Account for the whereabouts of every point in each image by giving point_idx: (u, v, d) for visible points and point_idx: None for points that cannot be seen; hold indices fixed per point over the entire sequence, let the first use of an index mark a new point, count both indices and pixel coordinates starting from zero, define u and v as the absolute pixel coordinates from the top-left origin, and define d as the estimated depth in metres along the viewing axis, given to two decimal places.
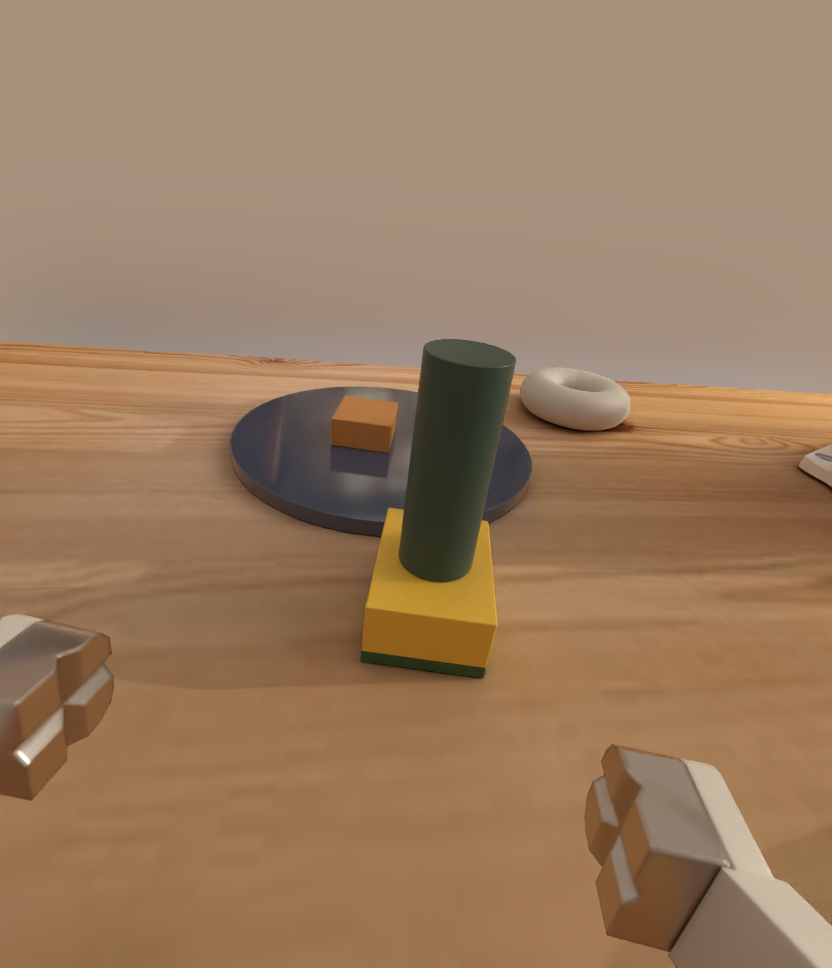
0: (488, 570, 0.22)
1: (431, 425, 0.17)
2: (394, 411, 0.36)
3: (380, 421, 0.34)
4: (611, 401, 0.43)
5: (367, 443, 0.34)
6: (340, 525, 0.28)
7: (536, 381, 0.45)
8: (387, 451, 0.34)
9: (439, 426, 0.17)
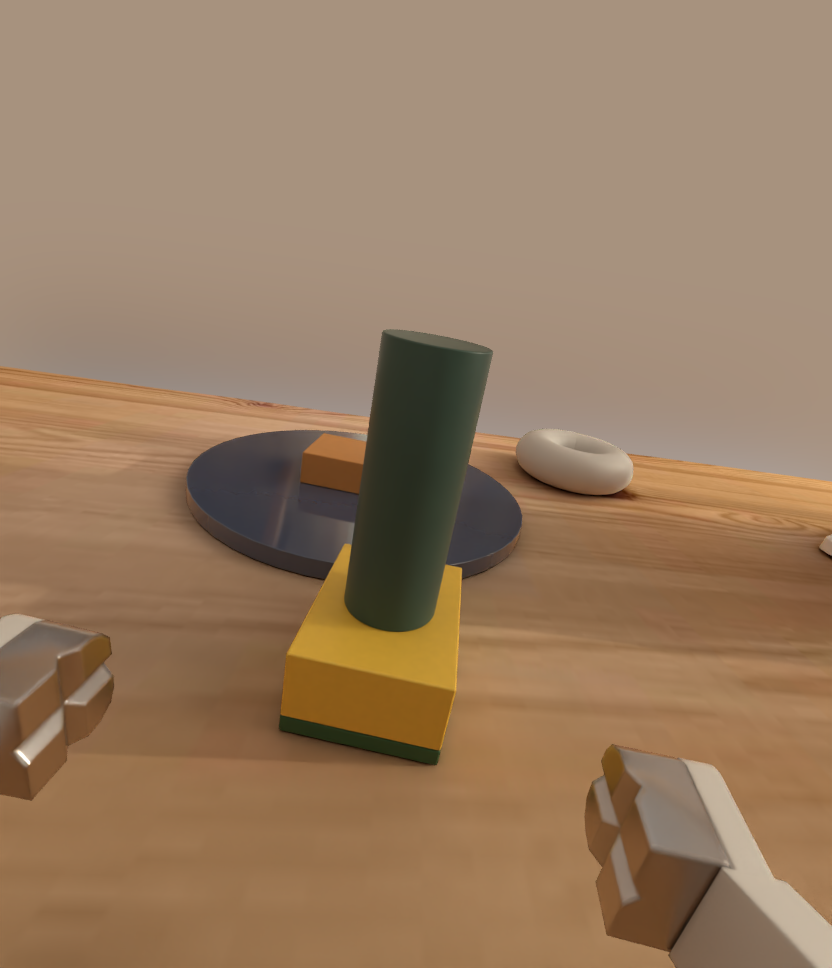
0: (453, 622, 0.17)
1: (385, 423, 0.14)
2: None
3: (356, 459, 0.31)
4: (613, 463, 0.40)
5: (340, 482, 0.31)
6: (291, 565, 0.24)
7: (533, 439, 0.43)
8: None
9: (394, 424, 0.14)
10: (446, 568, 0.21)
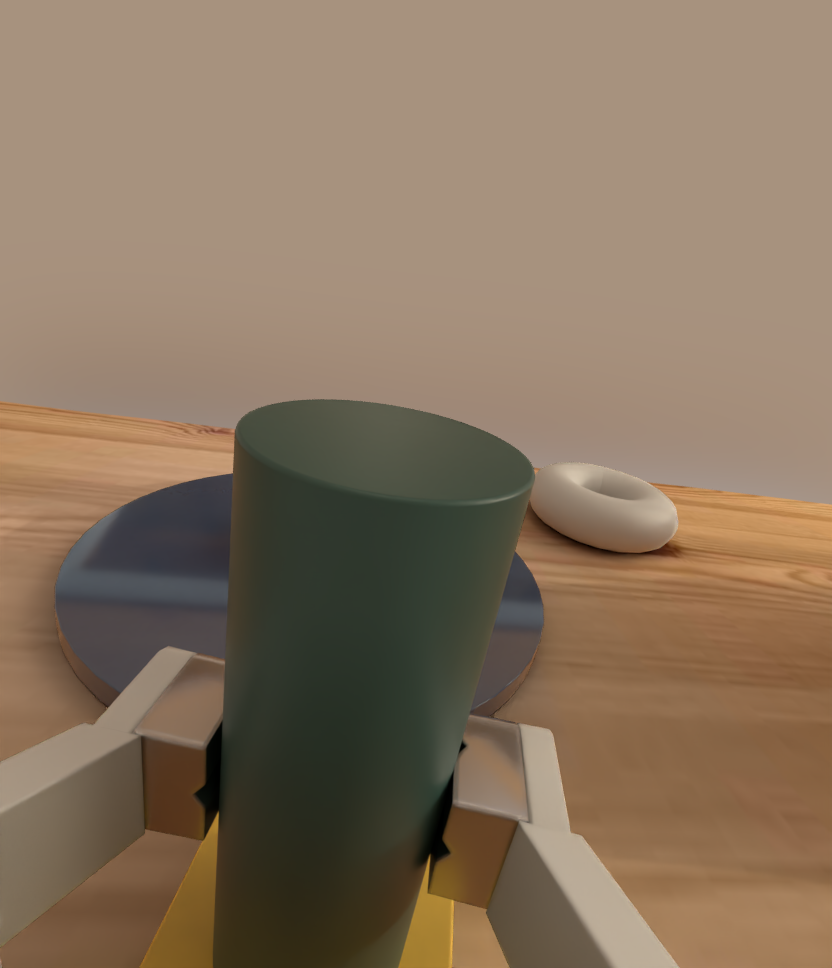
0: None
1: (245, 668, 0.05)
2: None
3: None
4: (655, 514, 0.31)
5: None
6: None
7: (551, 479, 0.34)
8: None
9: (265, 680, 0.05)
10: None
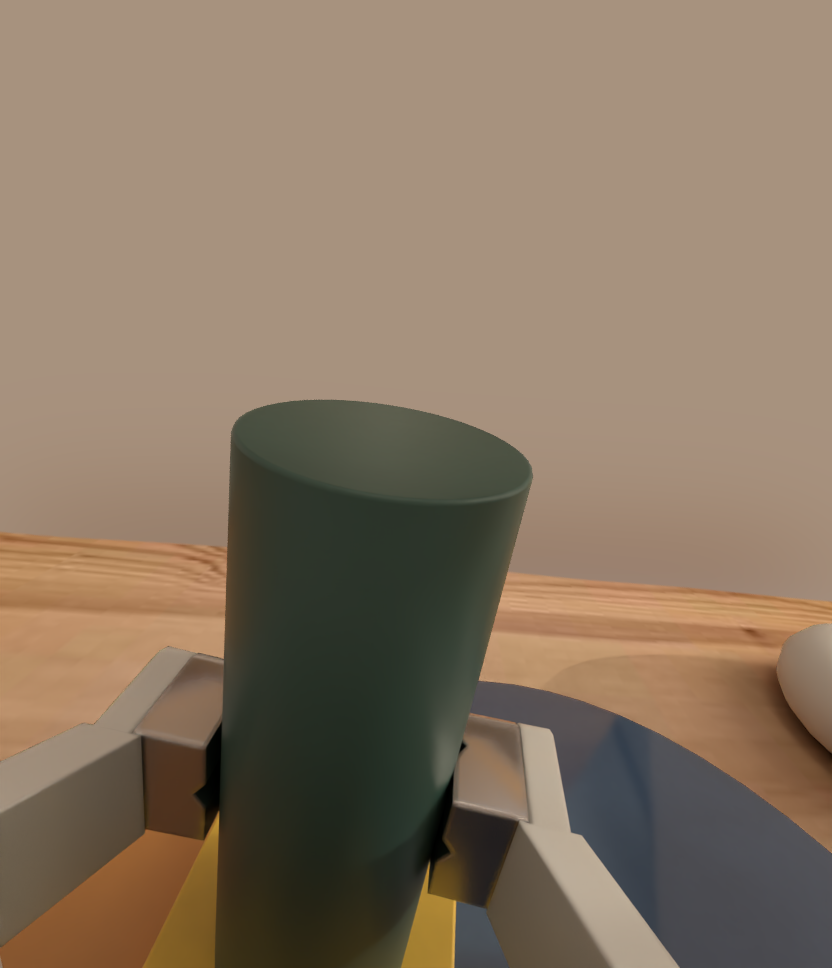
0: None
1: (244, 669, 0.05)
2: None
3: None
4: None
5: None
6: None
7: None
8: None
9: (263, 681, 0.05)
10: None
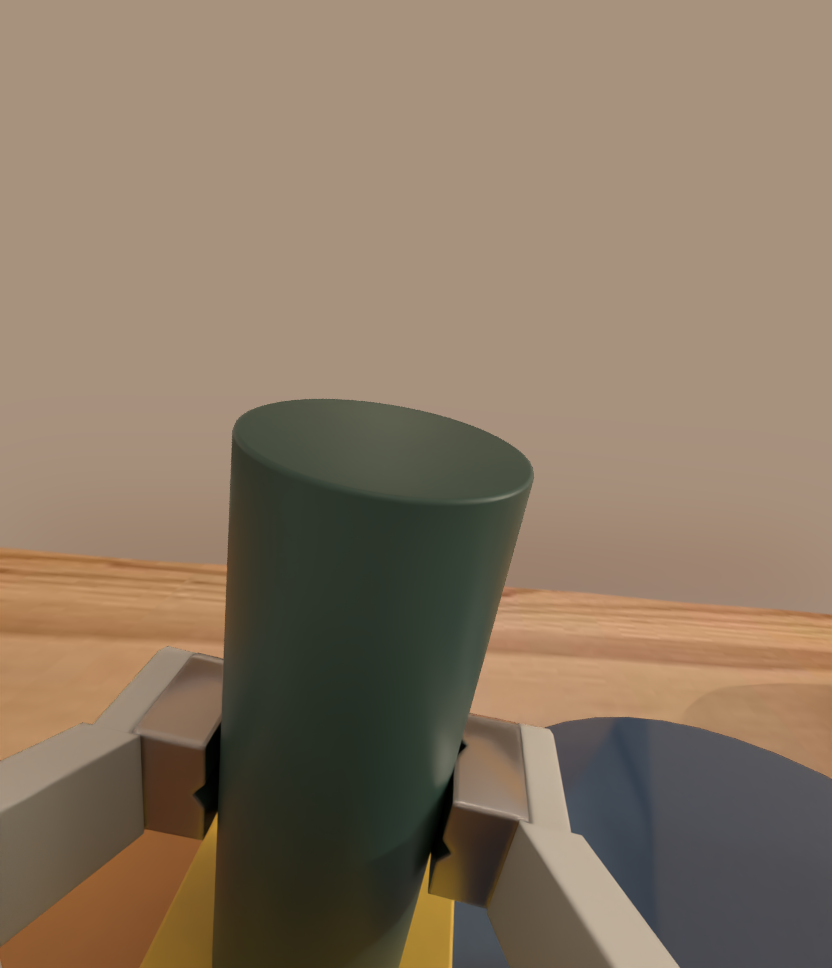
0: None
1: (243, 668, 0.05)
2: None
3: None
4: None
5: None
6: None
7: None
8: None
9: (263, 679, 0.05)
10: None
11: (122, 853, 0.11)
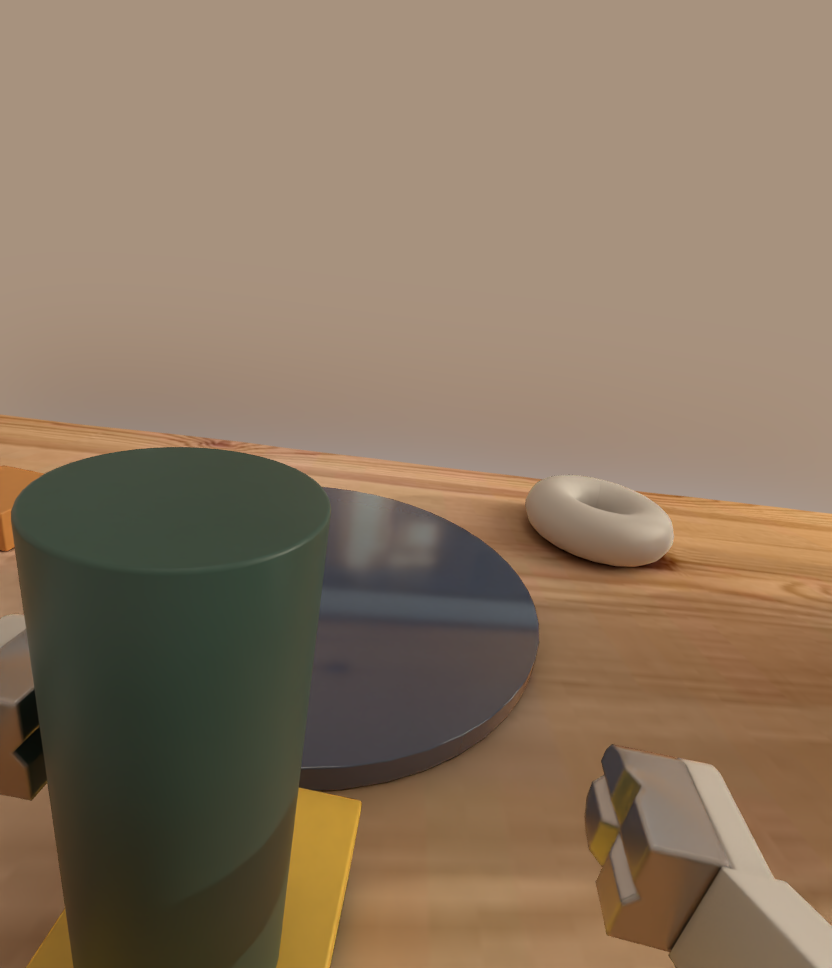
0: None
1: (41, 719, 0.05)
2: None
3: None
4: (650, 529, 0.31)
5: None
6: None
7: (548, 493, 0.34)
8: (4, 549, 0.23)
9: (53, 731, 0.05)
10: (333, 807, 0.12)
11: (29, 477, 0.26)
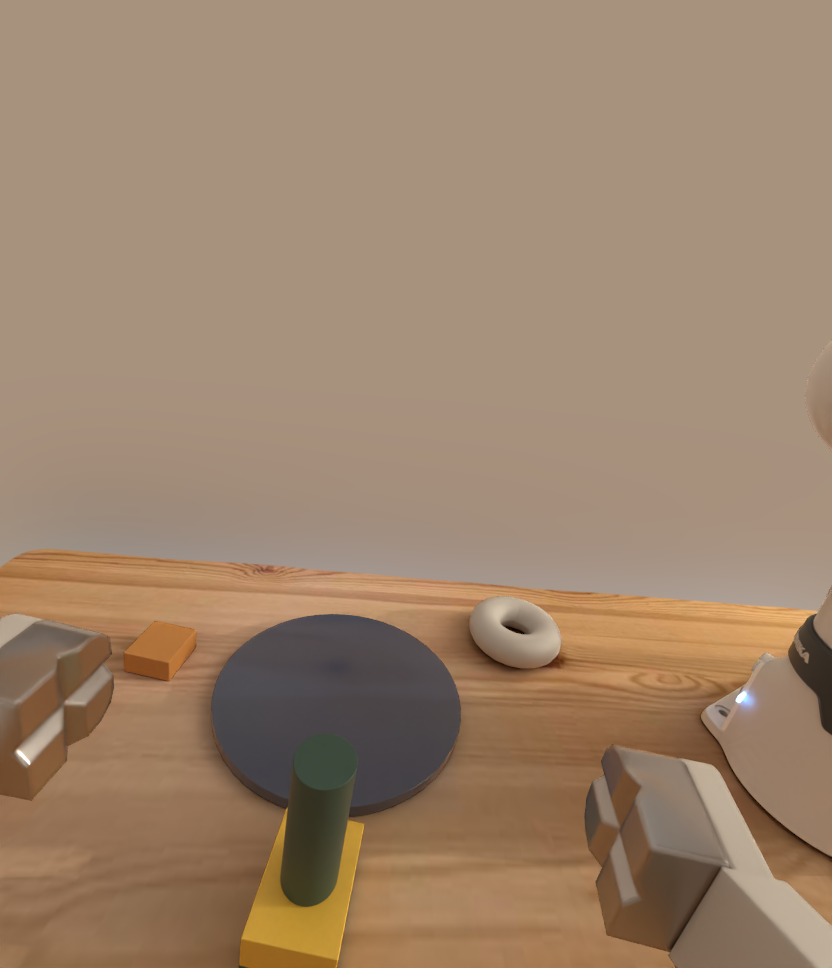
0: (348, 890, 0.28)
1: (295, 812, 0.25)
2: (184, 642, 0.45)
3: (163, 656, 0.43)
4: (541, 646, 0.51)
5: (152, 672, 0.43)
6: (287, 805, 0.35)
7: (481, 618, 0.53)
8: (168, 680, 0.43)
9: (299, 815, 0.25)
10: (353, 826, 0.31)
11: (172, 630, 0.46)
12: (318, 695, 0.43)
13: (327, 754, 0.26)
